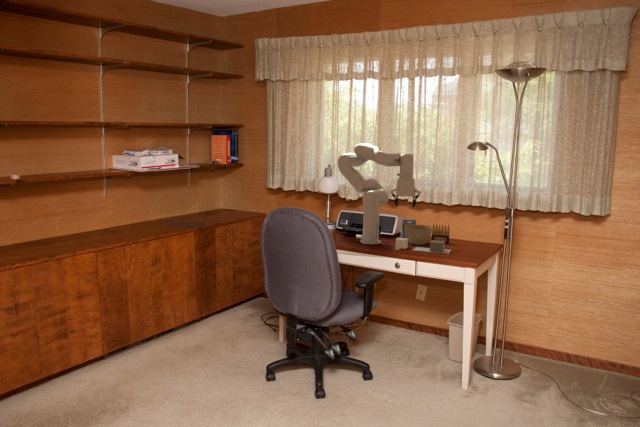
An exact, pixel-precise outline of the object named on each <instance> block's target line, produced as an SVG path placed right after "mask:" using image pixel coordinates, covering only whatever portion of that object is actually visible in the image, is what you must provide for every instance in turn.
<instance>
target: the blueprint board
mask: <svg viewBox="0 0 640 427" xmlns="http://www.w3.org/2000/svg"><path fill="white" fill-rule="evenodd" d="M411 251H415V252H426V253H435V254H436V253H437V254H447V255H449V254H450V253H451V251H452V250H451V249H446V248H444V251H443V252H435V251H430V247H426V246H425V247H424V246H415V247H414V248H412V250H411Z"/></svg>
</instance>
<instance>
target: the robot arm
mask: <svg viewBox="0 0 640 427" xmlns="http://www.w3.org/2000/svg"><path fill="white" fill-rule="evenodd" d="M414 158H415V157H414V154H412V153H401V152H400V153H399V152H385V151H382V149H381V148H380V147H378V146H375V145H374V144H372V143H369V142H368V143H367V142H366V143H364V142H363V143H362V142H361V143H358V144H356V145H355V146H354V148H353V152H347V153H342V154H340V155H339V156H338V158H337V167H338V168H337V169H338V170H339V172H340V174H341V175H342V176H343V177H344V179H346V180H347V182H348V183H349V184H350V185H351V186H352V187H353V188H354V190H355V191H356V192H357V193H358V194H363V195H362V206H363V217H362V218H363V220H362V221H363V224H362V234H356V235H355V238H356V239H360V240H359V243H360V242H361V244H363V245H379V244H381V243H382V241H381V240H380V239H379V236H380V231H379V230H380V209H379V206H385V205H386V204H387V203H388V201H389V193H388V192H387V191H386V189H385V188H384V187H383V185H381V184H380V183H379V181H378V180H377V179H376V178H374V177H366V176H363V175H362V174H361V173H360V172H359V170H358V169H356V168H357V167H361V166H362V165H364V164H366V163H367V162H369V161H371V162H374V163H376V164H378V165H381V166H385V167H399V172H398V173H396V177H398V178H397V181H396V188H393V189H391V190H390V194H391V196H392V197H393V199H394V205H395V206H396V207H398V206H399V199H398V198H399V197H411V198H412V207H413V208H415V207H416V206H417V199H418V198H419V197H420V196H421V194H422V191H420V190H418V189H417V188H416V183H415V178H414ZM416 193H417V194H416ZM415 194H416V195H415Z"/></svg>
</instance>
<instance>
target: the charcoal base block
mask: <svg viewBox="0 0 640 427" xmlns="http://www.w3.org/2000/svg"><path fill="white" fill-rule="evenodd" d="M445 245H446V244H445V241H436V240H432V241H431V240H430V243H429V248H430V251H435V252H443V251H444V249H445ZM435 252H434V253H435Z"/></svg>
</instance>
